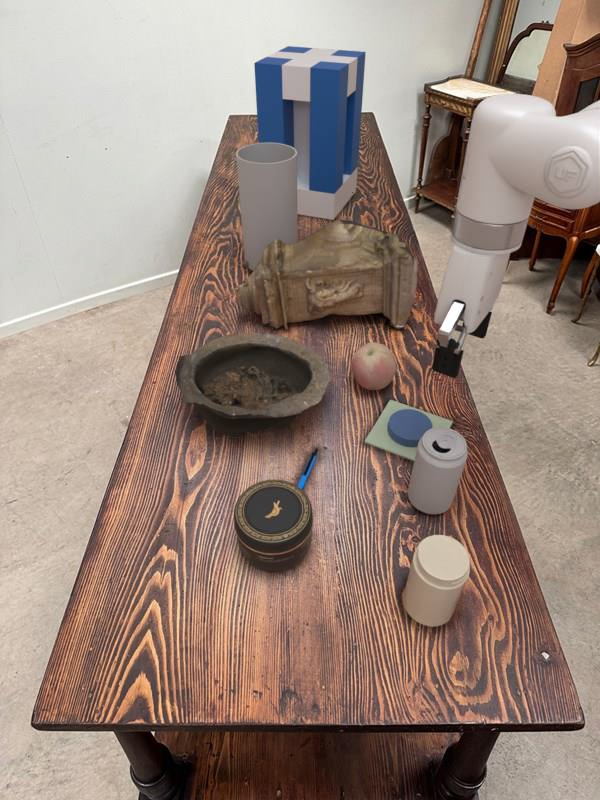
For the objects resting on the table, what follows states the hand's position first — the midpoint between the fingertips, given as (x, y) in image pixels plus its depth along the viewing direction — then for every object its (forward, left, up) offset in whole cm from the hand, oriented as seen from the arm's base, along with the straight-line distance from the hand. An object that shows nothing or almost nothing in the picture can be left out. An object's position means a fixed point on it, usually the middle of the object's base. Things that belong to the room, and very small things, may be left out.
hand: (459, 353), depth 70 cm
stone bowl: (+31, +3, -20) cm, 37 cm away
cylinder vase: (+53, -40, -20) cm, 69 cm away
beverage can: (-2, +8, -20) cm, 22 cm away
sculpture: (+33, -28, -20) cm, 48 cm away
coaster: (+5, -3, -20) cm, 21 cm away
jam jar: (-7, +23, -20) cm, 31 cm away
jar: (+14, +25, -20) cm, 35 cm away
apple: (+15, -11, -20) cm, 27 cm away
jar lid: (+5, -3, -18) cm, 19 cm away
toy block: (+62, -77, -20) cm, 101 cm away
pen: (+15, +17, -21) cm, 31 cm away
